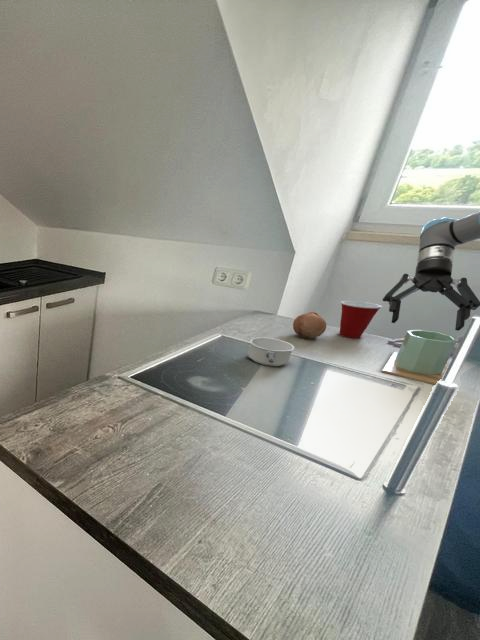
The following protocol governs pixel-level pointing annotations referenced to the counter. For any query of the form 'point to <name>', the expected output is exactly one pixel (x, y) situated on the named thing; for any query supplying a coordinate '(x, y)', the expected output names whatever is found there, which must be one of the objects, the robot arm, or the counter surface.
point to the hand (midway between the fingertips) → (426, 324)
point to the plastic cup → (356, 317)
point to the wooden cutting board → (395, 370)
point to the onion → (309, 325)
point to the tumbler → (425, 352)
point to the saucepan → (270, 351)
